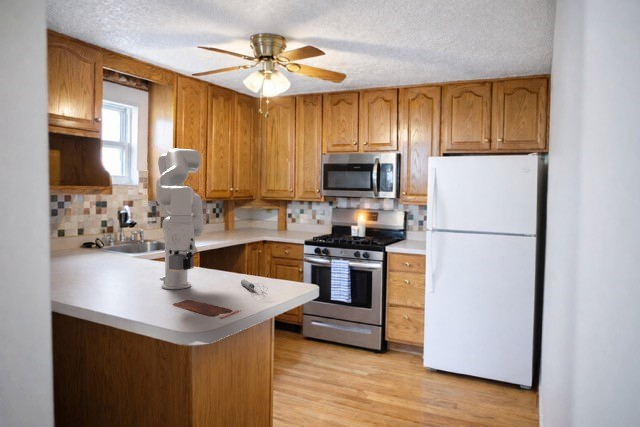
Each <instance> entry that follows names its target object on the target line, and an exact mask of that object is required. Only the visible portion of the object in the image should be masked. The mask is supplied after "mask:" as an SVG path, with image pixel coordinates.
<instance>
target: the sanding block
mask: <svg viewBox="0 0 640 427" xmlns="http://www.w3.org/2000/svg"><path fill="white" fill-rule="evenodd" d="M187 254H188V252H187ZM194 256H195V255H193V256H192V258H191V268H190V269H187V271H188V270H191V269H194V268H195V267H194V266H195V265H194V264H195V263H194V260H195V259H194ZM183 259H185V257H184V253H182V254H176V255H171V256H169V271H176V272H180V271H184V269H183Z"/></svg>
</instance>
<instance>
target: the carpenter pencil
mask: <svg viewBox="0 0 640 427" xmlns="http://www.w3.org/2000/svg"><path fill="white" fill-rule="evenodd" d="M241 311H242V309H237V310H233V311H232V312H230V313H226V314H223V315H221V316H220V317H219V319H220V320H223V319H225V318H228V317H230V316H233V315H234V314H237V313H239V312H241Z"/></svg>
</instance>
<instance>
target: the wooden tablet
mask: <svg viewBox="0 0 640 427" xmlns="http://www.w3.org/2000/svg"><path fill="white" fill-rule="evenodd" d="M172 306H174V307H176V308H180V309H184V310H188V311H190V312H191V311H192V312H194V313H197V314H201V315H204V316H207V317H218V316H220V315H226V314H229V313H231V312H234V310H233V309H231V308H227V307H224V306H220V305H214V304H210V303H206V302H201V301H198V300H197V301H196V300H192V299H184V300H181V301H178V302H174V303H172Z"/></svg>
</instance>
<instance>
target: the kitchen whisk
mask: <svg viewBox="0 0 640 427" xmlns="http://www.w3.org/2000/svg"><path fill="white" fill-rule="evenodd" d="M240 284H241V285H242V286H243V287H245V288H246V289H248V290H249V293H250V295H251V296H253V297H254V296H256V297H257V296H260V297H262V296H263V298H262V299H265V296H264V295H268V293H267V291H268V289H269V288H268V287H267V286H265V285H264V284H263V283H262V282H260V284H262V285H261V287H263V289H262V288H261V287H259V290H257V287H256V285H258V284H259V282H258V283H252V282H250V281H248V280H246V279H245V278H244V279H242V280H241V281H240ZM265 288H267V289H266V291H264V289H265ZM253 291H254V292H258V294H256V295H255V294H254V292H253ZM259 293H260V294H259Z"/></svg>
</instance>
